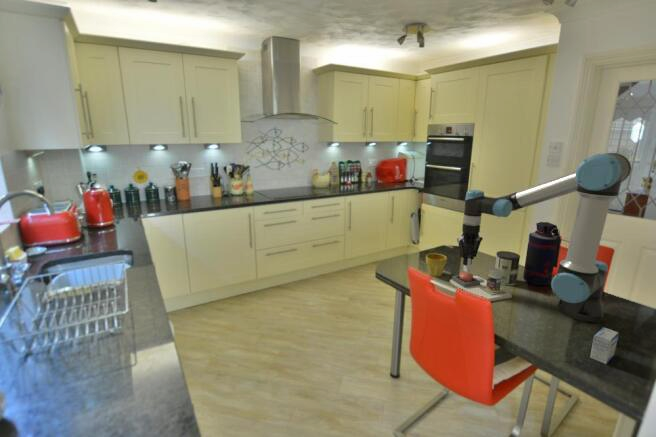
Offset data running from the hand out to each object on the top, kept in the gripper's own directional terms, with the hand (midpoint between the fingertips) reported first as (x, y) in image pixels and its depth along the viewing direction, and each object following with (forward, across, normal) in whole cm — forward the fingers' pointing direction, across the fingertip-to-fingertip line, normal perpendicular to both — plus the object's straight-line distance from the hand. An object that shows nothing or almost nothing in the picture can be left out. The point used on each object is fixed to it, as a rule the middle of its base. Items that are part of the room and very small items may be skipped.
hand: (466, 271), depth 163 cm
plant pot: (+8, +6, -16) cm, 19 cm away
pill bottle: (+6, -6, +11) cm, 14 cm away
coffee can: (+8, -22, +2) cm, 23 cm away
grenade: (+8, -37, +8) cm, 39 cm away
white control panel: (+7, -3, +6) cm, 10 cm away
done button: (+4, 0, 0) cm, 4 cm away
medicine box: (+7, -6, +59) cm, 60 cm away
